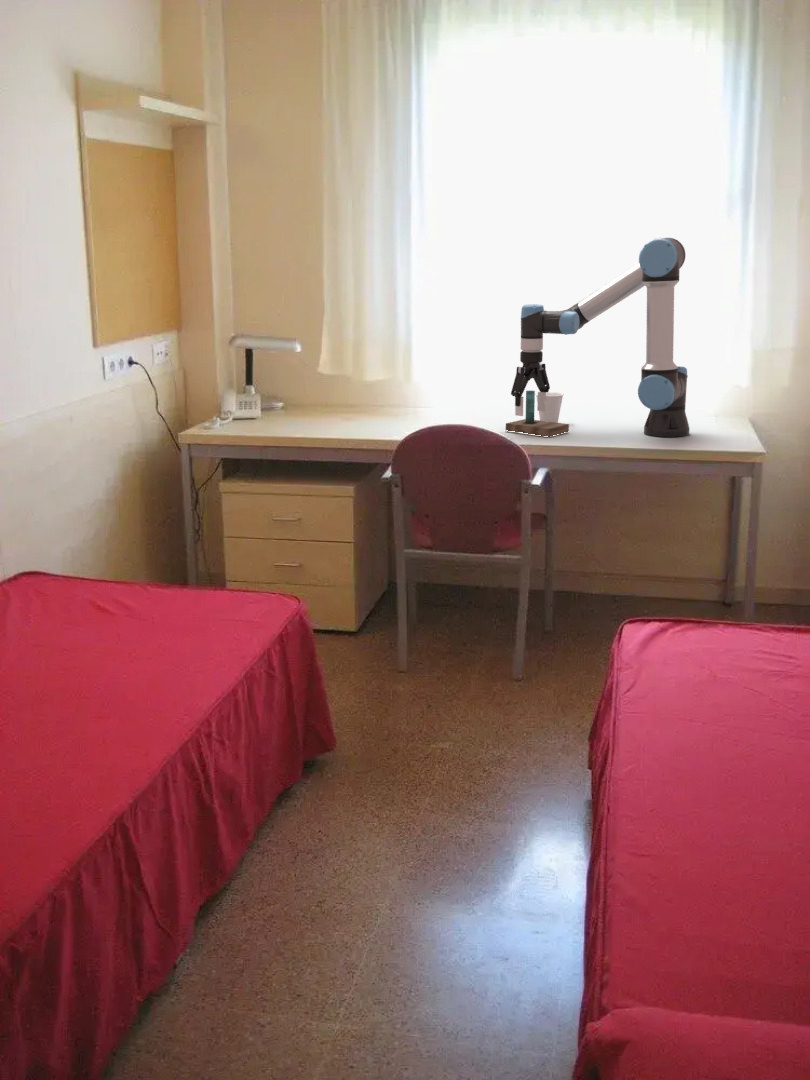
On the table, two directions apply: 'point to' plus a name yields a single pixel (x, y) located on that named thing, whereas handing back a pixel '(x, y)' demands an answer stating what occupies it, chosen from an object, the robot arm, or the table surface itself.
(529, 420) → the peg
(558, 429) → the hole plate
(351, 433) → the table surface
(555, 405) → the cup
